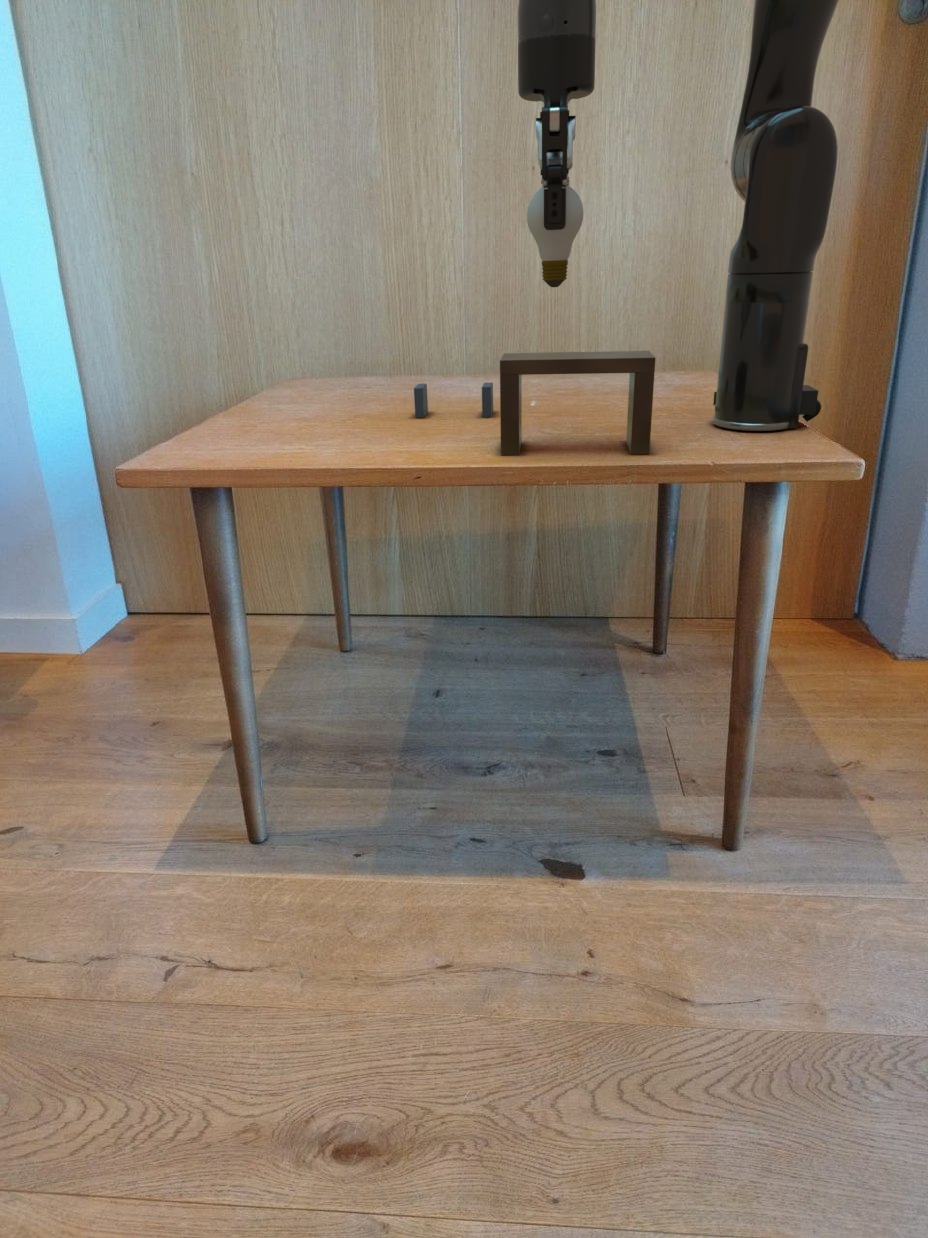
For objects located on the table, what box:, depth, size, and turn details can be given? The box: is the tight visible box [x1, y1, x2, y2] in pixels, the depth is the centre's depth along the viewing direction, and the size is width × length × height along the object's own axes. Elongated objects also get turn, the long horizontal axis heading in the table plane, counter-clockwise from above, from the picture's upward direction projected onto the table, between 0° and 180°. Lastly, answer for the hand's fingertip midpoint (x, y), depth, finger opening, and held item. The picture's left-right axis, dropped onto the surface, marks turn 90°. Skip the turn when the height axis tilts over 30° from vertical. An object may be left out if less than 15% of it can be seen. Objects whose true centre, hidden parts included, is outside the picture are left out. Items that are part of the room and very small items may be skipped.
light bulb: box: [526, 185, 584, 288], centre depth 86 cm, size 6×6×10 cm
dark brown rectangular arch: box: [499, 350, 656, 456], centre depth 90 cm, size 16×6×10 cm, turn 84°
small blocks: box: [413, 382, 494, 419], centre depth 112 cm, size 10×4×4 cm, turn 84°
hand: (555, 229), depth 86 cm, fingers closed on light bulb, 6 cm apart
